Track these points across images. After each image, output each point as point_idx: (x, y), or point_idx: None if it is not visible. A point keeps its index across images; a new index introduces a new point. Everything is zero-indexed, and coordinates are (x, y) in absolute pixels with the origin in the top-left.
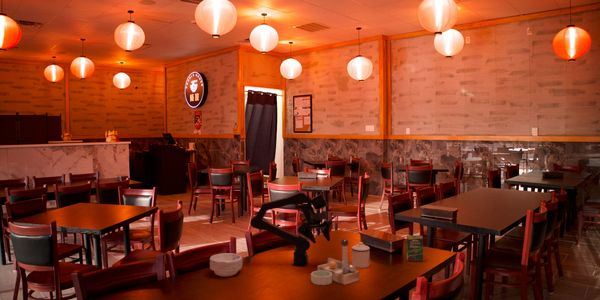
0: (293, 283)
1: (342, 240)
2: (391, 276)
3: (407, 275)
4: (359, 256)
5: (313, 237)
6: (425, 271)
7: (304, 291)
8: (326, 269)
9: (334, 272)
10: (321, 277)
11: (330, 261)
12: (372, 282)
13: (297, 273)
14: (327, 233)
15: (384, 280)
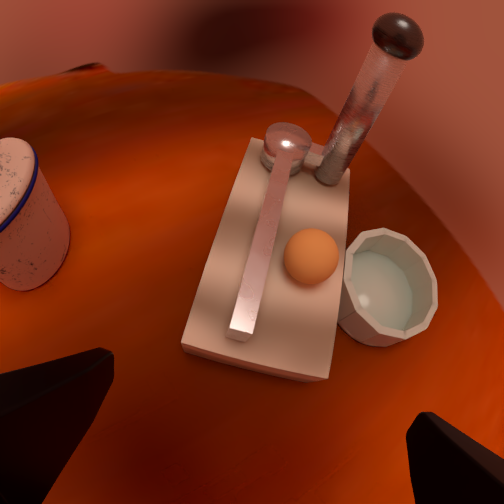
0: (457, 377)
1: (421, 32)
2: (134, 105)
3: (106, 83)
4: (47, 193)
5: (476, 451)
6: (57, 74)
7: (469, 286)
8: (340, 289)
9: (346, 226)
10: (423, 253)
11: (331, 254)
12: (235, 126)
13: (360, 475)
14: (20, 414)
15: (189, 107)
